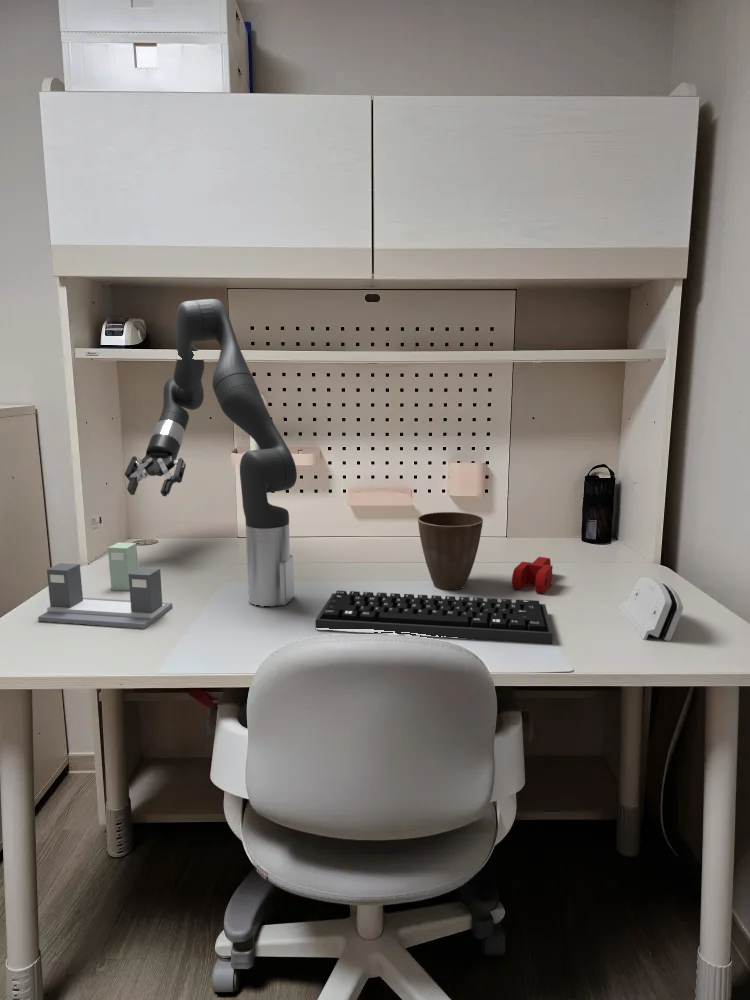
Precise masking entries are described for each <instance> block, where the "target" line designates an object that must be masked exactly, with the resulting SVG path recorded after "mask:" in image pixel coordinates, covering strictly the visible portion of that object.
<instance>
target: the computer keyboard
mask: <svg viewBox="0 0 750 1000" xmlns="http://www.w3.org/2000/svg"><path fill="white" fill-rule="evenodd" d="M314 622H315V626H314V627H315V629H316V628H329V629H374V630H384V631H395V633H397V634H410V635H416V634H411V633H418V634H426V635H431V636H436V635H438V636H439V637H441V636H443V637H444V636H446V637H458V638H466V639H465V640H472V639H474V640H477V641H489V640H490V642H507V643H508V642H510V643H522V644H523V643H526V644H542V645H543V644H544V645H545V644H546V645H553V641H554V640H553V639H554V633H553V627H552V624H551V621H550V618H549V614H548V609H547V606H546V604H545V603H540V600H536V599H535V600H532V599H531V600H530V599H515V602H513V600H512V599H511V598H501V600H500V601H499V599H498V598H493V597H492V598H491V597H487V599H486V600H484V597H473V598H472V600H471V599H470V597H469V596H459V598H458V599H457V598H456V596H454V595H453V596H451V595H450V596H449V595H445V597H444V598H442V595H433V594H431V597H428V595H427V594H417V597H415V595H414V593H413V594H412V593H404V594H403V596H401V594H400V593H396V592H395V593H390V594H389V595H388V593H387V592H376V595H375V594H374V592H372V591H363V593H362V594H361V592H360V591H357V590H355V591H353V590H351V591H349V593H347V591H346V590H336V592H335V593H331V595H330V597H329V598H328V600H327V601H326V603H325V605H324V606H323V607H322V609H321V611H320V612H319V613H318V615H317V617H316V618H315V621H314ZM401 632H410V633H401ZM374 633H378V632H374ZM381 633H393V632H381ZM419 637H422V636H421V635H420V636H419ZM474 640H473V641H474Z"/></svg>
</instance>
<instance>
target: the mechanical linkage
mask: <svg viewBox="0 0 750 1000" xmlns="http://www.w3.org/2000/svg"><path fill="white" fill-rule="evenodd" d="M553 567H554V566H553V565H552V563H551V558H550V557H545V556H544V557H543V556H538V557H536V559H535V560H533V562H528V561H521V562H520V563H519V564H517V566H516V567H514V569H513V572H512V576H511V586H512V589H513V590H520V591H521V590H522V589H523V588H524V587H526V585H531V586H534V591H535V592H536V593H539V594H546V593H547V591H548V590H549V589H550V587H552V584H553V581H552V580H553Z"/></svg>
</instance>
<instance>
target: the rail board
mask: <svg viewBox="0 0 750 1000" xmlns="http://www.w3.org/2000/svg"><path fill="white" fill-rule="evenodd" d="M46 574H47V584H48V587H47V588H48V596H49V605H50V606H47V607H46V612H44V613H42V614H41V615H38V617H37V620H38V622H39V621H47V622H46V623H52V622H58V623H57V624H66V623H73V624H72V625H80V624H87V625H86V626H95V625H99V626H100V627H109V626H110V627H112V628H124V629H126V628H127V629H139V630H140V629H141V630H145V629H146V628H148V627H149V626H151V625H152V624H153V623H154V622H156V621H157V620H159V619H160V618H161V617H162V616H163V615H165V614H166V613H167V612H169V611H170V610H172V608H173V603H172V602H163V593H162V591H163V590H162V579H161V578H162V575H161V568H159V567H158V568H156V567H138V569H136V570H135V571H133V572H131V573H129V574H128V575H129V588H130V591H129V599H130V600H127V599H110V598H96V597H84V595H83V594H84V593H83V585H82V584H83V583H82V575H81V574H82V573H81V564H78V563H66V562H65V563H64V562H60V563H58V564H57V565H53V566H51V567H48V569H47V568H46ZM99 626H98V627H99Z"/></svg>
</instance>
